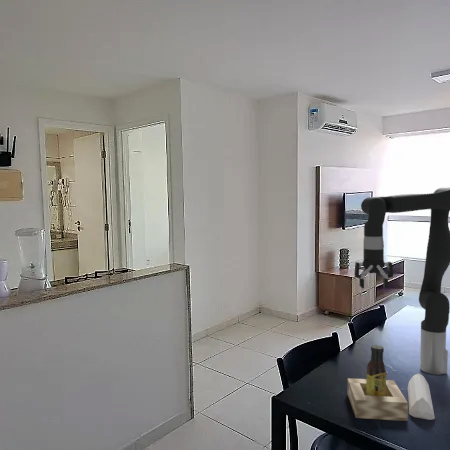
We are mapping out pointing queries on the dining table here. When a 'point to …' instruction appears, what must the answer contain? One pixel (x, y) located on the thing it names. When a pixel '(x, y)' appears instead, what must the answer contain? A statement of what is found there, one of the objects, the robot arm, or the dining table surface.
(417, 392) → the crystal
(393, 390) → the socket block
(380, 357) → the sauce bottle
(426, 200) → the robot arm
